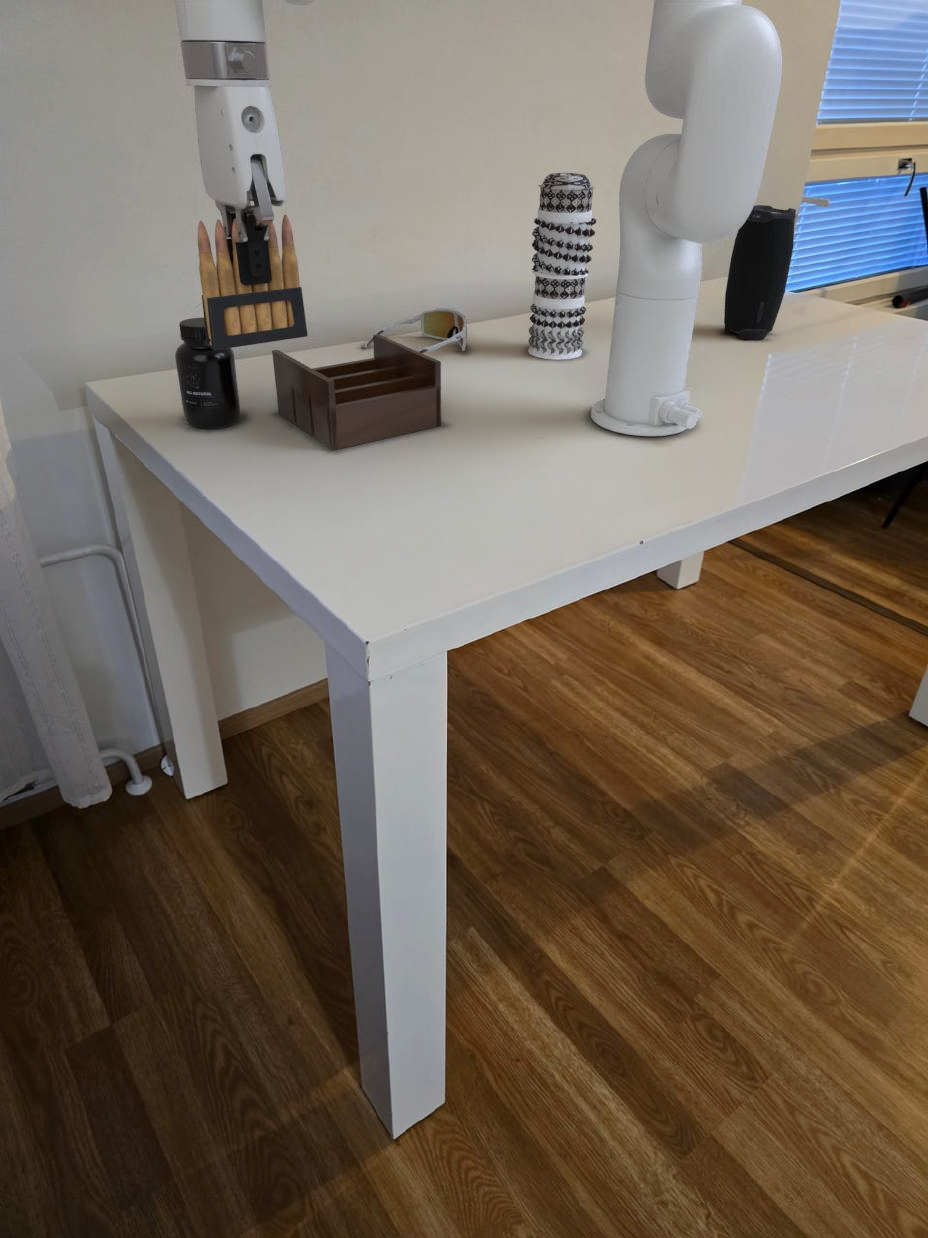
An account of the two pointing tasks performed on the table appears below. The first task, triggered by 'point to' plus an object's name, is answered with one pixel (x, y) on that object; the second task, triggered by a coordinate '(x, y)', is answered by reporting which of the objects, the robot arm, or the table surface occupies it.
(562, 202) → the decorative candle
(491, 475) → the table surface
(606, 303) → the table surface
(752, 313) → the portable speaker
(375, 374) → the rack
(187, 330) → the supplement bottle
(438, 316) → the sunglasses
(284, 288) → the ammunition clip
